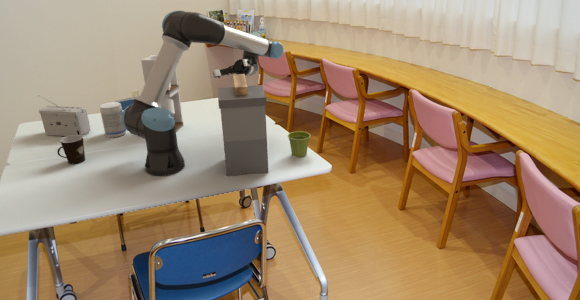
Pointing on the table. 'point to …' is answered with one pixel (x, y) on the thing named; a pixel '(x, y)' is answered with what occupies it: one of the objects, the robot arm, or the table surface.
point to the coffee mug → (73, 149)
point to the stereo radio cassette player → (65, 120)
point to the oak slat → (240, 84)
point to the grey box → (244, 130)
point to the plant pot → (299, 143)
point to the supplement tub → (112, 119)
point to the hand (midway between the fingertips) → (229, 67)
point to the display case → (167, 92)
